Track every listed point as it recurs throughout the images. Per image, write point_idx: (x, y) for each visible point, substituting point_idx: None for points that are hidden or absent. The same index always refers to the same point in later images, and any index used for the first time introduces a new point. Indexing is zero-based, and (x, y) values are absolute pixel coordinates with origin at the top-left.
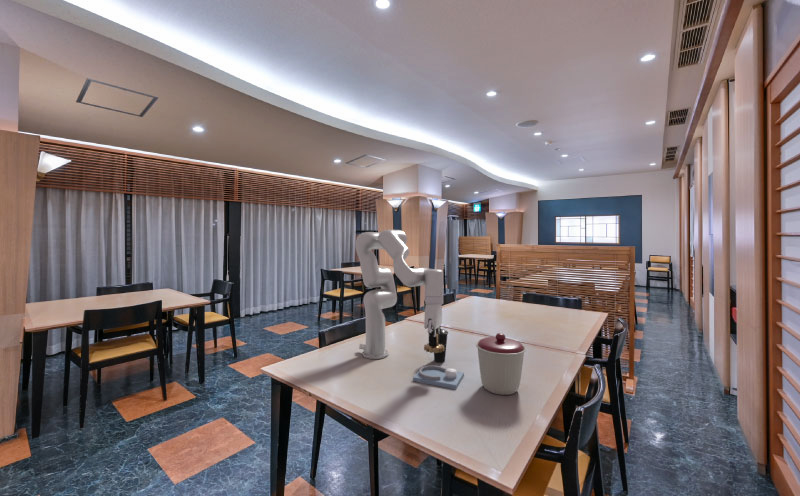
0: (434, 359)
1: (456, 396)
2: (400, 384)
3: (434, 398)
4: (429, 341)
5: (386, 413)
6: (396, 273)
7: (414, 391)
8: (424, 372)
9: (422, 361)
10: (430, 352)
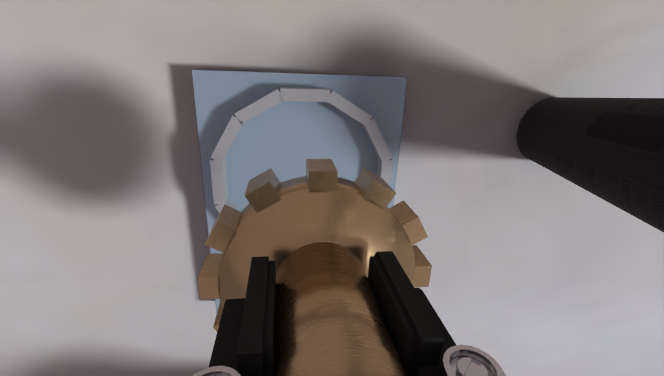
0: (545, 103)
1: (149, 319)
2: (103, 3)
3: (64, 246)
4: (246, 300)
5: None
6: None
7: (69, 127)
8: (300, 117)
9: (522, 24)
10: (207, 260)
